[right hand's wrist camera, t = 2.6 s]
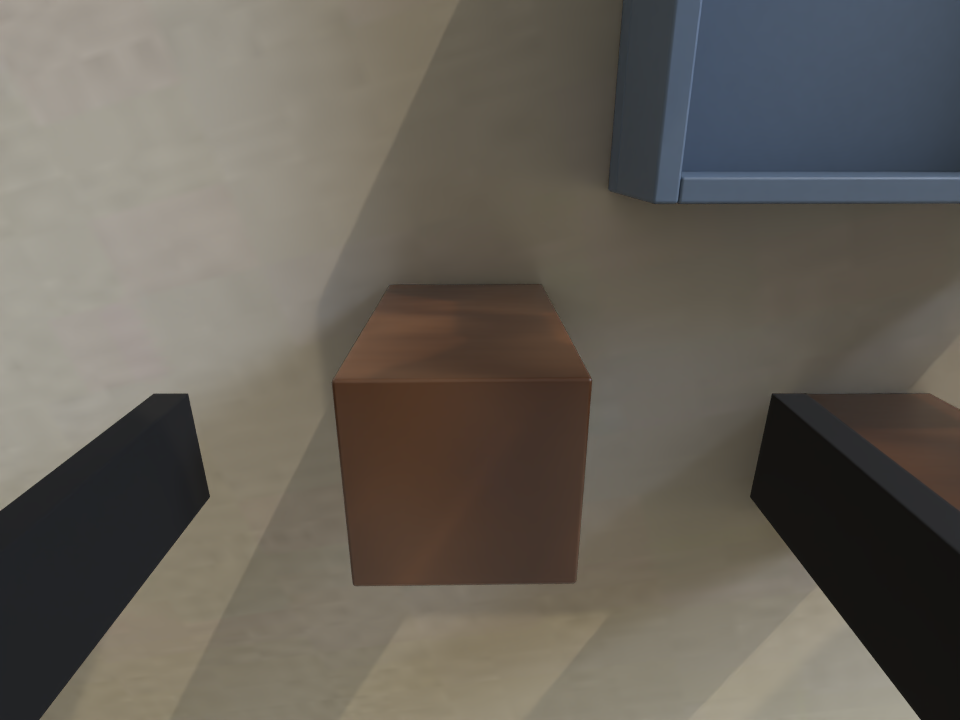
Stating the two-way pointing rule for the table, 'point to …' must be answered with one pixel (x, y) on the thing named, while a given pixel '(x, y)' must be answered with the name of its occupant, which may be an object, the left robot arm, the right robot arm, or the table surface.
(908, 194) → the tray
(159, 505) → the right robot arm
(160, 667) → the table surface
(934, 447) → the walnut block
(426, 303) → the walnut block
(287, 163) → the table surface
